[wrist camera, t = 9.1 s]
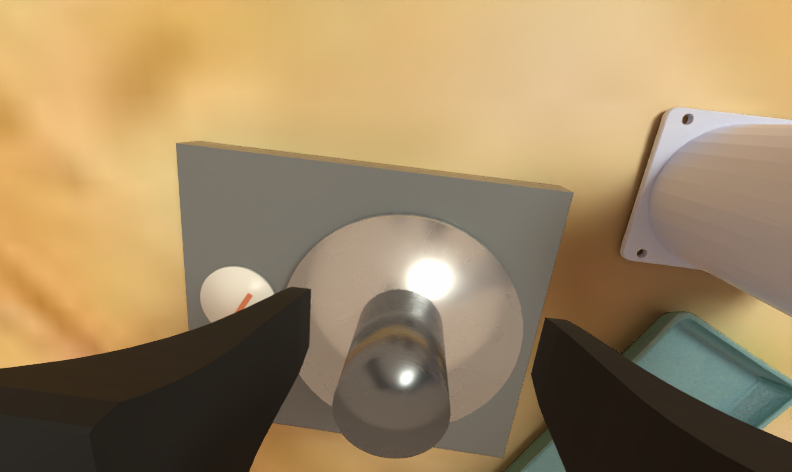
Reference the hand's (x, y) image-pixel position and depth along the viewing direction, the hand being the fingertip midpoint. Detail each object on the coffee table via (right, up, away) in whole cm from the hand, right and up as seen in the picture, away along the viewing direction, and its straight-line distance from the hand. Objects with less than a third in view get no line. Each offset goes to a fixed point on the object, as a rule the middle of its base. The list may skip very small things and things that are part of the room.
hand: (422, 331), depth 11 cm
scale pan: (-1, -2, +9) cm, 9 cm away
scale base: (-3, -1, +11) cm, 12 cm away
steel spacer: (-1, -2, +8) cm, 9 cm away
